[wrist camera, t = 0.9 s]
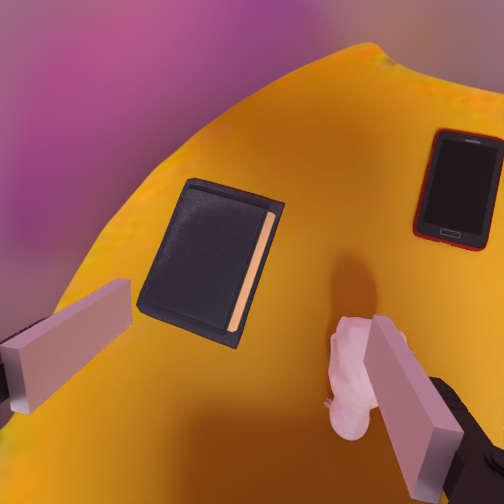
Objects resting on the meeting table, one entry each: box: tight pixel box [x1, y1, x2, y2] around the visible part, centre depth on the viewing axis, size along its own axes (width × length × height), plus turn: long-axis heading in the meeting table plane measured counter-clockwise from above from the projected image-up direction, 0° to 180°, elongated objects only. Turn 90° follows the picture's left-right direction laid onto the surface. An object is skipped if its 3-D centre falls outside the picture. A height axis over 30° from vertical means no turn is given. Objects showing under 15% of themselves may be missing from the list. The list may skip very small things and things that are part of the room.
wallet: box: [136, 178, 285, 349], centre depth 37 cm, size 20×2×15 cm
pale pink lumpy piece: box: [324, 316, 406, 440], centre depth 28 cm, size 6×8×12 cm
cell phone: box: [413, 129, 504, 251], centre depth 34 cm, size 8×15×1 cm, turn 161°
